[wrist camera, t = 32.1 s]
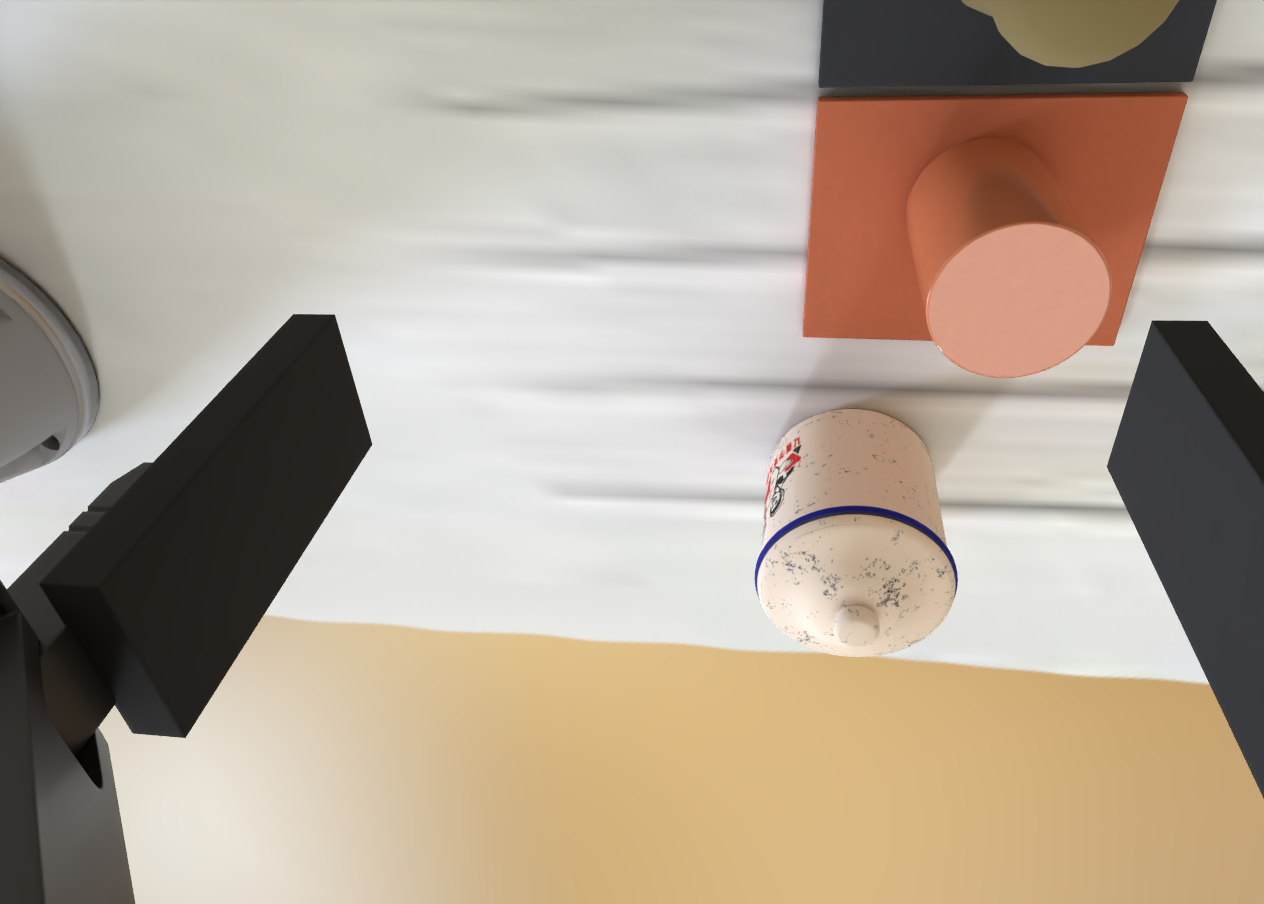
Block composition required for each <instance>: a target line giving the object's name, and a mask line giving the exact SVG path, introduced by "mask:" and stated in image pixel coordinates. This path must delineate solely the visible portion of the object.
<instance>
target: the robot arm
mask: <svg viewBox="0 0 1264 904" xmlns="http://www.w3.org/2000/svg"><path fill="white" fill-rule="evenodd" d="M98 405H99V393H98V384H97V380H96V375H95V372H94V369H93V366H92V363H91V361H90V358H89V356H88V354H87V352H86V350H85V348H84V346H83V344H82V342H81V340H80V339H79V337H78V335H77V334H76V332H75V331H74V329H73V328H72V326H71V325H70V324H69V322H68V321H67V319H66V318H65V317H64V316H63V314H62V313H61V312H60V311H59V309H58V308H57V307H56V306H55V305H54V304H53V303H52V302H51V301H50V299H49V298H48V297H47V296H46V295H45V294H44V293H43V292H42V291H41V290H40V289H38V288H37V287H36V286H35V285H34V284H33V283H32V282H31V281H30V280H28V279H27V278H26V277H25V276H24V275H22V274H21V273H20V272H18V271H17V270H16V269H15V268H13V267H12V266H11V265H9V264H8V263H6V262H5V261H3V260H2V259H0V483H1V482H4V481H6V480H9V479H11V478H14V477H16V476H19V475H21V474H24V473H27V472H29V471H32V470H34V469H37V468H39V467H42V466H44V465H46V464H49V463H51V462H53V461H55V460H57V459H59V458H60V457H61V456H63V455H64V454H65V453H66V452H67V451H69V450H70V449H71V448H72V447H73V446H74V445H75V444H76V443H78V442H79V441H80V440H81V439H82V438H83V437H84V436H85V435H86V434H87V433H88V431H89V430H90V429H91V427H92V425H93V423H94V421H95V418H96V415H97V411H98ZM371 446H372V442H371V438H370V435H369V431H368V428H367V424H366V421H365V418H364V414H363V411H362V407H361V404H360V400H359V397H358V393H357V390H356V386H355V383H354V380H353V376H352V373H351V369H350V366H349V362H348V359H347V355H346V352H345V348H344V345H343V342H342V338H341V335H340V331H339V328H338V324H337V321H336V317H335V315H315V314H293V315H292V316H291V317H290V319H289V320H288V321H287V322H286V323H285V324H284V325H283V326H282V327H281V328H280V329H279V330H278V331H277V332H276V333H275V334H274V335H273V336H272V338H271V339H270V340H269V341H268V342H267V343H266V344H265V345H264V346H263V347H262V348H261V349H260V350H259V351H258V352H257V353H256V354H255V356H254V357H253V358H252V359H251V360H250V361H249V362H248V363H247V364H246V365H245V366H244V367H243V368H242V369H241V370H240V371H239V372H238V373H237V375H236V376H235V377H234V378H233V379H232V380H231V381H230V382H229V383H228V384H227V385H226V386H225V387H224V388H223V389H222V390H221V391H220V393H219V394H218V395H217V396H216V397H215V398H214V399H213V400H212V401H211V402H210V403H209V404H208V405H207V406H206V407H205V408H204V409H203V411H202V412H201V413H200V414H199V415H198V416H197V417H196V418H195V419H194V420H193V421H192V422H191V423H190V424H189V425H188V426H187V427H186V428H185V430H184V431H183V432H182V433H181V434H180V435H179V436H178V437H177V438H176V439H175V440H174V441H173V442H172V443H171V444H170V445H169V446H168V448H167V449H166V450H165V451H164V452H163V453H162V454H161V455H160V456H159V457H158V458H157V459H156V460H155V461H154V462H153V463H145V462H144V463H142V464H141V465H139V466H138V467H136V468H134V469H133V470H131V471H130V472H128V473H126V474H125V475H123V476H122V477H120V478H118V479H117V480H115V481H114V482H112V483H111V484H110V485H109V486H108V487H107V488H106V489H105V490H104V491H103V492H102V493H101V494H100V495H99V496H98V497H97V498H96V499H95V500H94V501H93V502H92V503H91V504H90V505H89V506H88V511H87V512H82V513H81V514H80V515H79V516H78V517H77V518H76V519H75V520H74V522H73V523H72V524H71V525H70V526H69V531H64V532H63V533H62V534H61V535H60V536H59V537H58V538H57V539H56V540H55V541H54V542H53V543H52V544H51V545H50V546H49V547H48V548H47V549H46V550H45V551H44V552H43V553H42V554H41V555H40V556H39V557H38V558H37V559H36V560H35V561H34V562H33V563H32V564H31V565H30V566H29V567H28V569H27V570H26V571H25V572H24V573H23V574H22V575H21V576H20V577H19V578H18V579H17V580H16V581H15V582H14V583H13V584H12V585H11V586H10V587H9V588H8V589H6V588H5V586H4V585H3V583H2V582H1V580H0V904H135V899H134V894H133V888H132V882H131V876H130V870H129V864H128V858H127V852H126V847H125V841H124V835H123V829H122V823H121V817H120V812H119V806H118V800H117V794H116V788H115V782H114V777H113V770H112V765H111V759H110V753H109V747H108V743H107V742H106V740H105V738H104V736H103V735H102V733H101V731H100V730H99V728H98V727H99V725H100V724H101V723H102V721H103V720H104V718H105V717H106V716H107V714H108V713H109V712H110V710H111V709H112V708H113V706H114V705H115V706H116V707H117V709H118V711H119V712H120V714H121V715H122V717H123V719H124V720H125V721H126V723H127V725H128V726H129V728H130V729H131V731H132V733H135V734H146V735H158V736H170V737H183V738H186V736H187V734H188V733H189V731H190V730H191V728H192V727H193V725H194V724H195V722H196V720H197V719H198V717H199V716H200V714H201V713H202V711H203V709H204V708H205V706H206V705H207V703H208V702H209V700H210V698H211V697H212V695H213V694H214V692H215V691H216V689H217V687H218V686H219V684H220V683H221V681H222V680H223V678H224V676H225V675H226V673H227V672H228V670H229V668H230V667H231V665H232V664H233V662H234V661H235V659H236V658H237V656H238V654H239V653H240V651H241V649H242V648H243V647H244V645H245V643H246V642H247V640H248V639H249V637H250V636H251V634H252V632H253V631H254V629H255V628H256V626H257V625H258V623H259V622H260V620H261V618H262V617H263V615H264V614H265V612H266V611H267V609H268V607H269V606H270V604H271V603H272V601H273V600H274V598H275V596H276V595H277V593H278V592H279V590H280V589H281V587H282V585H283V584H284V582H285V581H286V579H287V578H288V576H289V574H290V573H291V571H292V570H293V568H294V567H295V565H296V563H297V562H298V560H299V559H300V557H301V556H302V554H303V552H304V551H305V549H306V548H307V546H308V545H309V543H310V541H311V540H312V538H313V537H314V535H315V534H316V532H317V530H318V529H319V527H320V526H321V524H322V523H323V521H324V519H325V518H326V516H327V515H328V513H329V512H330V510H331V508H332V507H333V505H334V504H335V502H336V501H337V499H338V497H339V496H340V494H341V493H342V491H343V490H344V488H345V486H346V485H347V483H348V482H349V480H350V479H351V477H352V475H353V474H354V472H355V471H356V469H357V468H358V466H359V464H360V463H361V461H362V460H363V458H364V457H365V455H366V453H367V452H368V450H369V449H370V447H371ZM1107 468H1108V470H1109V472H1110V474H1111V476H1112V479H1113V481H1114V483H1115V485H1116V487H1117V489H1118V491H1119V493H1120V495H1121V498H1122V500H1123V502H1124V504H1125V506H1126V508H1127V510H1128V512H1129V514H1130V517H1131V519H1132V521H1133V523H1134V525H1135V527H1136V529H1137V531H1138V534H1139V536H1140V538H1141V540H1142V542H1143V544H1144V546H1145V548H1146V550H1147V553H1148V555H1149V557H1150V559H1151V561H1152V563H1153V565H1154V567H1155V569H1156V572H1157V574H1158V576H1159V578H1160V580H1161V582H1162V584H1163V586H1164V588H1165V591H1166V593H1167V595H1168V597H1169V599H1170V601H1171V603H1172V605H1173V608H1174V610H1175V612H1176V614H1177V616H1178V618H1179V620H1180V622H1181V624H1182V627H1183V629H1184V631H1185V633H1186V635H1187V637H1188V639H1189V641H1190V643H1191V646H1192V648H1193V650H1194V652H1195V654H1196V656H1197V658H1198V660H1199V663H1200V665H1201V667H1202V669H1203V671H1204V673H1205V675H1206V677H1207V679H1208V682H1209V684H1210V686H1211V688H1212V690H1213V692H1214V694H1215V696H1216V698H1217V701H1218V703H1219V705H1220V707H1221V709H1222V711H1223V713H1224V715H1225V717H1226V719H1227V721H1228V723H1229V726H1230V728H1231V730H1232V732H1233V734H1234V737H1235V739H1236V741H1237V743H1238V745H1239V747H1240V749H1241V751H1242V753H1243V756H1244V758H1245V760H1246V762H1247V764H1248V766H1249V768H1250V770H1251V772H1252V775H1253V777H1254V779H1255V781H1256V783H1257V785H1258V787H1259V789H1260V791H1261V794H1262V795H1263V798H1264V392H1263V391H1262V389H1261V388H1260V387H1259V386H1258V384H1257V383H1256V382H1255V381H1254V379H1253V378H1252V377H1251V376H1250V374H1249V373H1248V372H1247V371H1246V369H1245V368H1244V367H1243V365H1242V364H1241V363H1240V362H1239V360H1238V359H1237V358H1236V357H1235V355H1234V354H1233V353H1232V352H1231V350H1230V349H1229V348H1228V347H1227V345H1226V344H1225V343H1224V341H1223V340H1222V339H1221V338H1220V336H1219V335H1218V334H1217V333H1216V331H1215V330H1214V329H1213V328H1212V326H1211V325H1210V324H1209V323H1208V321H1152V323H1151V326H1150V329H1149V332H1148V336H1147V339H1146V342H1145V345H1144V348H1143V352H1142V355H1141V358H1140V361H1139V365H1138V368H1137V371H1136V374H1135V378H1134V381H1133V384H1132V387H1131V390H1130V394H1129V397H1128V400H1127V403H1126V407H1125V410H1124V413H1123V416H1122V420H1121V423H1120V426H1119V429H1118V432H1117V436H1116V439H1115V442H1114V445H1113V449H1112V452H1111V455H1110V458H1109V462H1108V465H1107Z"/></svg>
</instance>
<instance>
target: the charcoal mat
mask: <svg viewBox="0 0 1264 904" xmlns="http://www.w3.org/2000/svg"><path fill="white" fill-rule="evenodd" d="M1216 1H1217V0H1179V2H1178V3H1177V4H1176V6H1175V7H1174V9H1173V10H1172V12H1171V13H1170V15H1169V16H1168V18H1167V19H1166V20H1165V22H1164V23H1163V24H1161V25H1160V26H1159V27H1158V28H1157V29H1156V30H1155V31H1154V32H1153V33H1151V34H1150V35H1149V36H1148V37H1147V38H1146V39H1145V40H1144V41H1143V42H1141V43H1140V44H1139V45H1138V46H1136V47H1134V48H1132V49H1130V50H1128V51H1127V52H1125V53H1123V54H1121V55H1119V56H1117V57H1115V58H1113V59H1112V60H1110V61H1106V62H1101V63H1097V64H1093V65H1089V66H1084V67H1080V68H1071V67H1057V66H1045V65H1043V64H1040V63H1038V62H1036V61H1034V60H1031V59H1029V58H1027V57H1025V56H1022V55H1020V54H1019V53H1018V52H1017V51H1016V50H1015V49H1014V48H1013V47H1012V45H1011V44H1010V43H1009V42H1008V41H1007V40H1006V39H1005V38H1004V37H1003V36H1002V35H1001V34H1000V32H999V31H998V28H997V26H996V24H995V21H994V19H993V17H992V16H989V15H986V14H984V13H982V12H980V11H977V10H975V9H973V8H971V7H968V6H966V5H965V4H964V3H963V2H962V1H961V0H824V5H823V21H822V37H821V53H820V68H819V87H820V88H823V87H886V86H948V85H1010V84H1072V83H1135V82H1191V81H1193V78H1194V75H1195V72H1196V68H1197V65H1198V62H1199V58H1200V55H1201V51H1202V48H1203V45H1204V41H1205V38H1206V35H1207V31H1208V28H1209V25H1210V21H1211V18H1212V15H1213V11H1214V8H1215V4H1216Z"/></svg>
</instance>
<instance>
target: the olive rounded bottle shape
mask: <svg viewBox="0 0 1264 904" xmlns="http://www.w3.org/2000/svg"><path fill="white" fill-rule="evenodd" d="M961 1H962V2H963V3H964V4H965V5H966V6H968V7H971V8H973V9H975V10H977V11H980V12H982V13H984V14H986V15H989V16H992V17H993V19H994V21H995V24H996V26H997V28H998V31H999V32H1000V34H1001V35H1002V36H1003V37H1004V38H1005V39H1006V40H1007V41H1008V42H1009V43H1010V44H1011V45H1012V47H1013V48H1014V49H1015V50H1016V51H1017V52H1018V53H1019V54H1020V55H1022V56H1025V57H1027V58H1029V59H1031V60H1034V61H1036V62H1038V63H1040V64H1043V65H1045V66H1057V67H1071V68H1080V67H1084V66H1089V65H1093V64H1097V63H1101V62H1106V61H1110V60H1112V59H1113V58H1115V57H1117V56H1119V55H1121V54H1123V53H1125V52H1127V51H1128V50H1130V49H1132V48H1134V47H1136V46H1138V45H1139V44H1140V43H1141V42H1143V41H1144V40H1145V39H1146V38H1147V37H1148V36H1149V35H1150V34H1151V33H1153V32H1154V31H1155V30H1156V29H1157V28H1158V27H1159V26H1160V25H1161V24H1163V23H1164V22H1165V20H1166V19H1167V18H1168V16H1169V15H1170V13H1171V12H1172V10H1173V9H1174V7H1175V6H1176V4H1177V3H1178V2H1179V0H961Z"/></svg>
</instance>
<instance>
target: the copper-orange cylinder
mask: <svg viewBox="0 0 1264 904" xmlns="http://www.w3.org/2000/svg"><path fill="white" fill-rule="evenodd" d="M906 226H907V231H908V236H909V240H910V245H911V250H912V254H913V259H914V264H915V268H916V273H917V278H918V283H919V287H920V292H921V297H922V301H923V306H924V311H925V316H926V320H927V325H928V329H929V332H930V334H931V337H932V339H933V341H934V343H935V344H936V346H937V347H938V349H939V350H940V351H941V352H942V353H943V354H944V355H945V356H946V357H947V358H948V359H949V360H950V361H952V362H953V363H955V364H956V365H958V366H959V367H961V368H963V369H965V370H968V371H970V372H973V373H976V374H979V375H984V376H988V377H998V378H1012V377H1021V376H1026V375H1031V374H1035V373H1038V372H1041V371H1044V370H1047V369H1049V368H1051V367H1054V366H1056V365H1058V364H1060V363H1061V362H1063V361H1065V360H1067V359H1068V358H1069V357H1071V356H1072V355H1074V354H1075V353H1076V352H1078V351H1079V350H1080V349H1081V348H1082V347H1083V346H1084V345H1085V344H1086V343H1087V342H1088V341H1089V340H1090V339H1091V338H1092V337H1093V335H1094V334H1095V333H1096V331H1097V330H1098V328H1099V327H1100V325H1101V323H1102V321H1103V319H1104V318H1105V315H1106V313H1107V310H1108V307H1109V303H1110V299H1111V289H1112V283H1111V274H1110V271H1109V267H1108V264H1107V262H1106V260H1105V258H1104V256H1103V254H1102V253H1101V251H1100V249H1099V248H1098V246H1097V245H1096V243H1095V241H1094V240H1093V238H1092V237H1091V235H1090V233H1089V232H1088V230H1087V228H1086V227H1085V225H1084V224H1083V222H1082V220H1081V219H1080V217H1079V216H1078V214H1077V212H1076V211H1075V209H1074V208H1073V206H1072V204H1071V203H1070V201H1069V199H1068V198H1067V196H1066V195H1065V193H1064V191H1063V190H1062V188H1061V187H1060V185H1059V183H1058V182H1057V180H1056V178H1055V177H1054V175H1053V174H1052V172H1051V170H1050V169H1049V167H1048V166H1047V164H1046V163H1045V161H1044V160H1043V159H1042V158H1041V157H1040V156H1039V155H1038V154H1037V153H1036V152H1035V151H1033V150H1032V149H1031V148H1029V147H1028V146H1026V145H1024V144H1022V143H1019V142H1016V141H1013V140H1010V139H1004V138H993V137H991V138H980V139H975V140H970V141H967V142H964V143H961V144H959V145H957V146H954V147H952V148H950V149H949V150H947V151H945V152H944V153H942V154H941V155H939V156H938V157H937V158H935V159H934V160H933V161H932V162H931V163H930V164H929V165H928V166H927V167H926V168H925V169H924V171H923V172H922V173H921V174H920V176H919V177H918V179H917V180H916V182H915V184H914V186H913V188H912V190H911V192H910V195H909V198H908V202H907V207H906Z"/></svg>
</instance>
